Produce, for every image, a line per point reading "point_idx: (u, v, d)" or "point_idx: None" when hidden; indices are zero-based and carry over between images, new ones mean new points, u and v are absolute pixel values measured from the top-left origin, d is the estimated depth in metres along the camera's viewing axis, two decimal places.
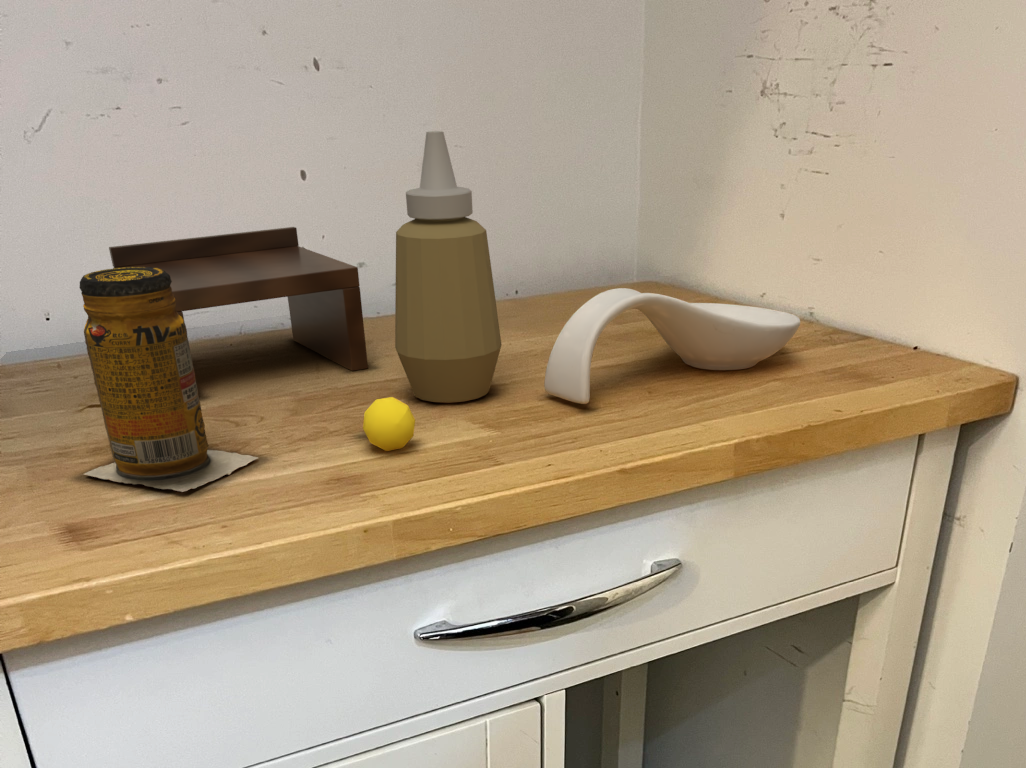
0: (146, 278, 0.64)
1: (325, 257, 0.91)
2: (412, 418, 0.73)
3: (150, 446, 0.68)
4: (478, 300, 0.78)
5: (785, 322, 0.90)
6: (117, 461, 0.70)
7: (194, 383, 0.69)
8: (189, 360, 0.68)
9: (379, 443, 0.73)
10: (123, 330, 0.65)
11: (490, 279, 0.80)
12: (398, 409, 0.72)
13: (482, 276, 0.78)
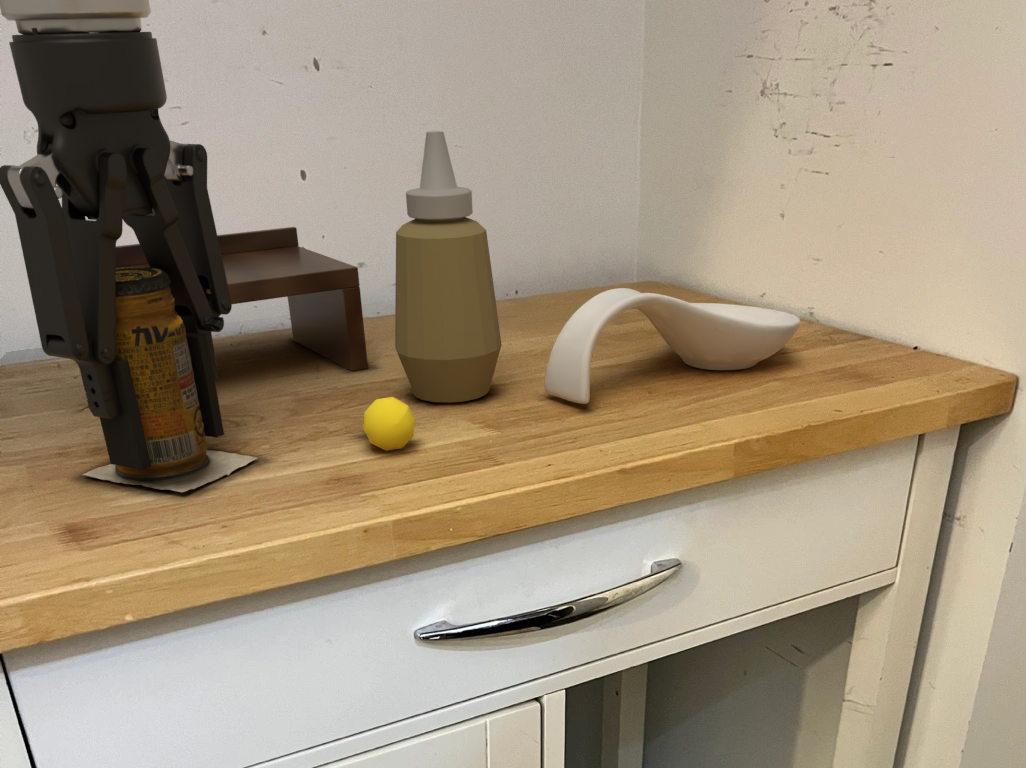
0: (145, 278, 0.64)
1: (325, 257, 0.91)
2: (412, 418, 0.73)
3: (149, 447, 0.68)
4: (478, 300, 0.78)
5: (785, 322, 0.90)
6: None
7: (193, 383, 0.69)
8: (188, 360, 0.68)
9: (379, 443, 0.73)
10: (122, 331, 0.65)
11: (490, 279, 0.80)
12: (399, 409, 0.72)
13: (482, 276, 0.78)
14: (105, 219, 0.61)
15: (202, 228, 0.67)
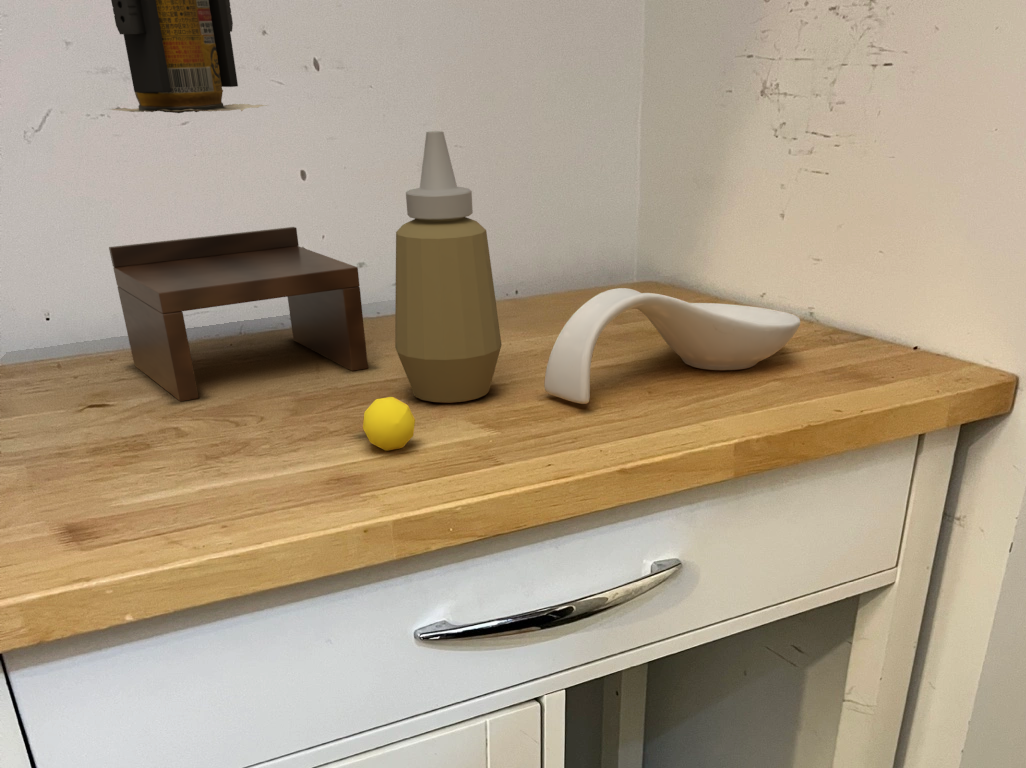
0: None
1: (325, 257, 0.91)
2: (412, 418, 0.73)
3: (170, 75, 0.75)
4: (478, 300, 0.78)
5: (785, 322, 0.90)
6: (140, 95, 0.76)
7: (210, 21, 0.76)
8: None
9: (379, 443, 0.73)
10: None
11: (490, 279, 0.80)
12: (398, 408, 0.72)
13: (482, 276, 0.78)
14: None
15: None
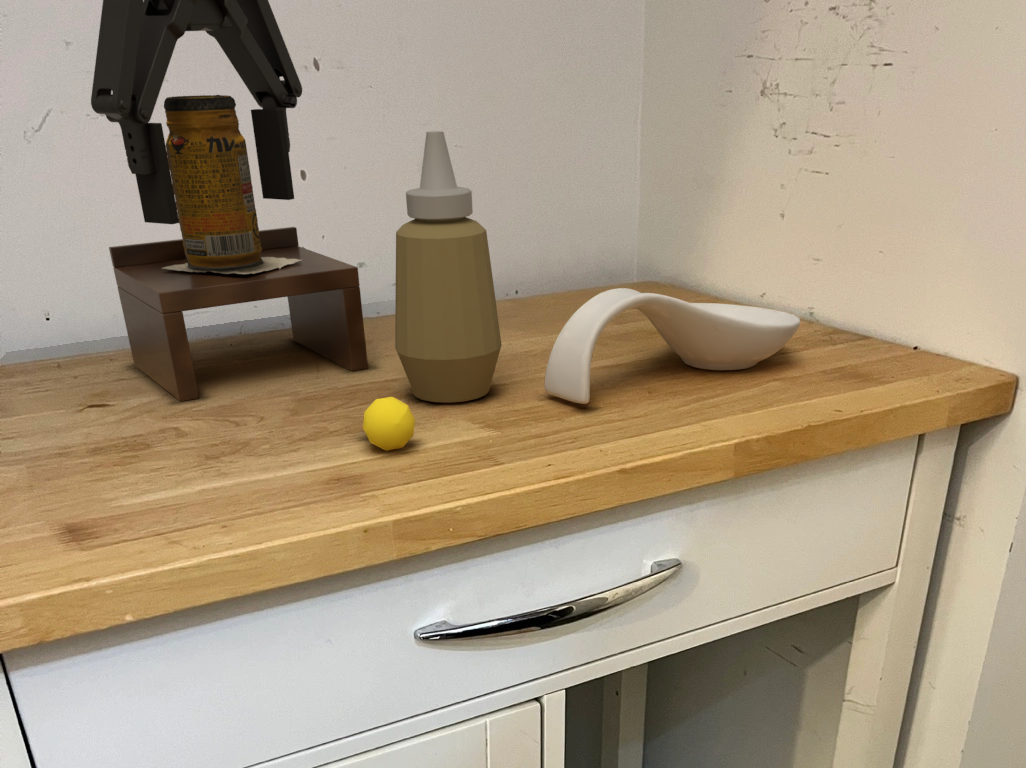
0: (217, 97, 0.81)
1: (325, 257, 0.91)
2: (412, 418, 0.73)
3: (217, 241, 0.85)
4: (478, 300, 0.78)
5: (785, 322, 0.90)
6: (190, 256, 0.86)
7: (252, 192, 0.86)
8: (249, 171, 0.85)
9: (379, 443, 0.73)
10: (199, 140, 0.81)
11: (490, 279, 0.80)
12: (398, 408, 0.72)
13: (482, 276, 0.78)
14: (186, 26, 0.77)
15: (269, 30, 0.84)
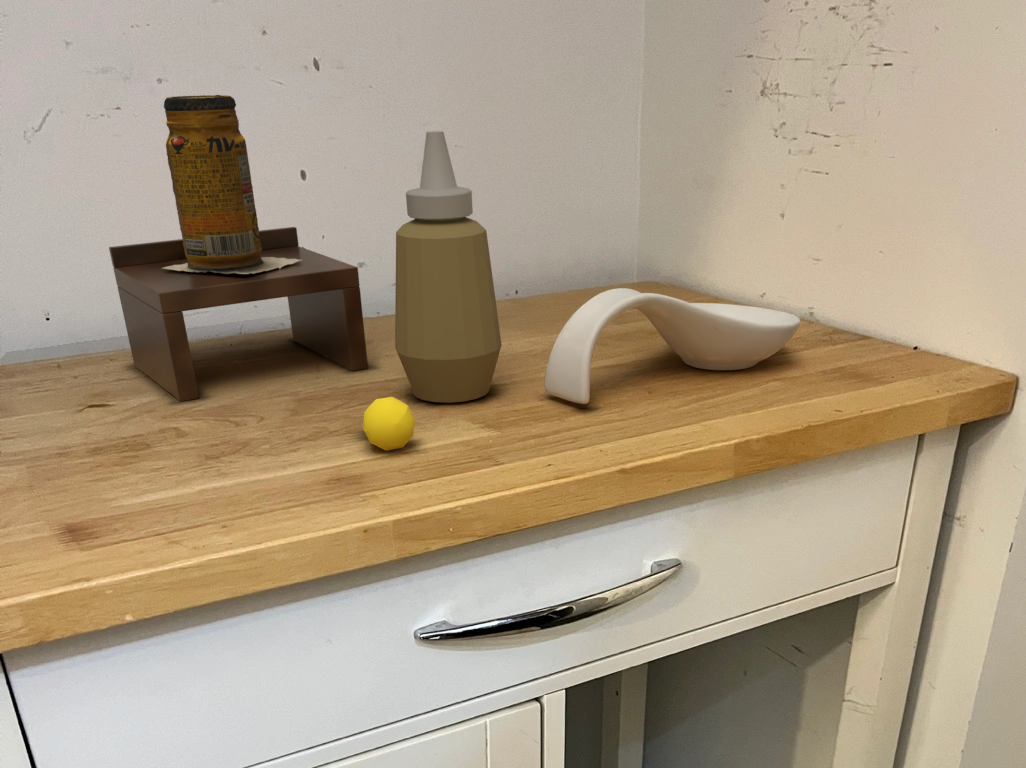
0: (217, 97, 0.81)
1: (325, 257, 0.91)
2: (412, 418, 0.73)
3: (217, 241, 0.85)
4: (478, 300, 0.78)
5: (785, 322, 0.90)
6: (190, 256, 0.86)
7: (252, 192, 0.86)
8: (249, 171, 0.85)
9: (379, 443, 0.73)
10: (199, 139, 0.81)
11: (490, 279, 0.80)
12: (398, 408, 0.72)
13: (482, 277, 0.78)
14: None
15: None
